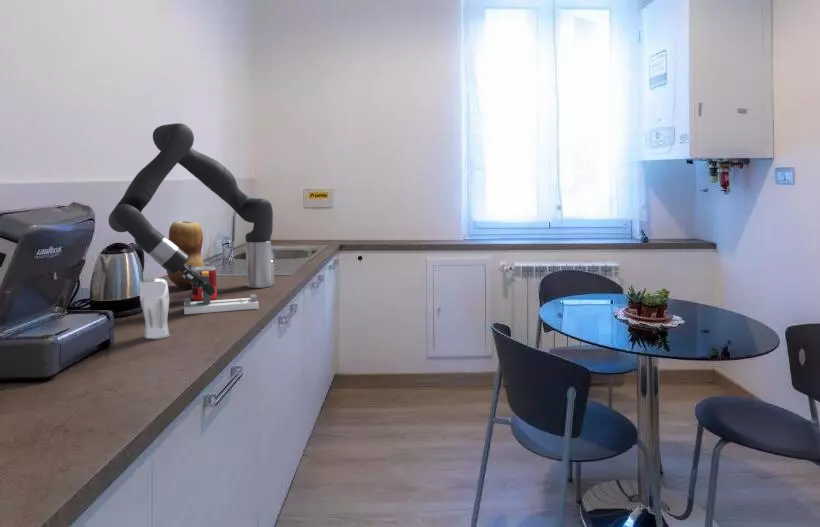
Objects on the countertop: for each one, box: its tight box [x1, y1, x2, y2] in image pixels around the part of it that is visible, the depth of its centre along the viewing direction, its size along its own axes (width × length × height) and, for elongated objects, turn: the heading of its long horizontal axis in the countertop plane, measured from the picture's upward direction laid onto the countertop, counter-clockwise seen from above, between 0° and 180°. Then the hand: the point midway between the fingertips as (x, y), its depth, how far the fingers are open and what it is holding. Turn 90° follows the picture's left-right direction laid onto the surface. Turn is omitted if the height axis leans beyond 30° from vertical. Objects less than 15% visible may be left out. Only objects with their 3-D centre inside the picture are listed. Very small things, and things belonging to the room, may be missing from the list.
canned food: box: [191, 265, 218, 302], centre depth 195 cm, size 8×8×11 cm
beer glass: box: [139, 277, 171, 340], centre depth 150 cm, size 7×7×15 cm
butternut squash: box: [166, 220, 205, 289], centre depth 216 cm, size 14×13×25 cm
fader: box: [202, 271, 210, 304], centre depth 180 cm, size 2×4×10 cm, turn 21°
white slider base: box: [183, 293, 260, 315], centre depth 183 cm, size 22×8×4 cm, turn 111°
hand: (212, 291), depth 181 cm, fingers closed on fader, 4 cm apart
